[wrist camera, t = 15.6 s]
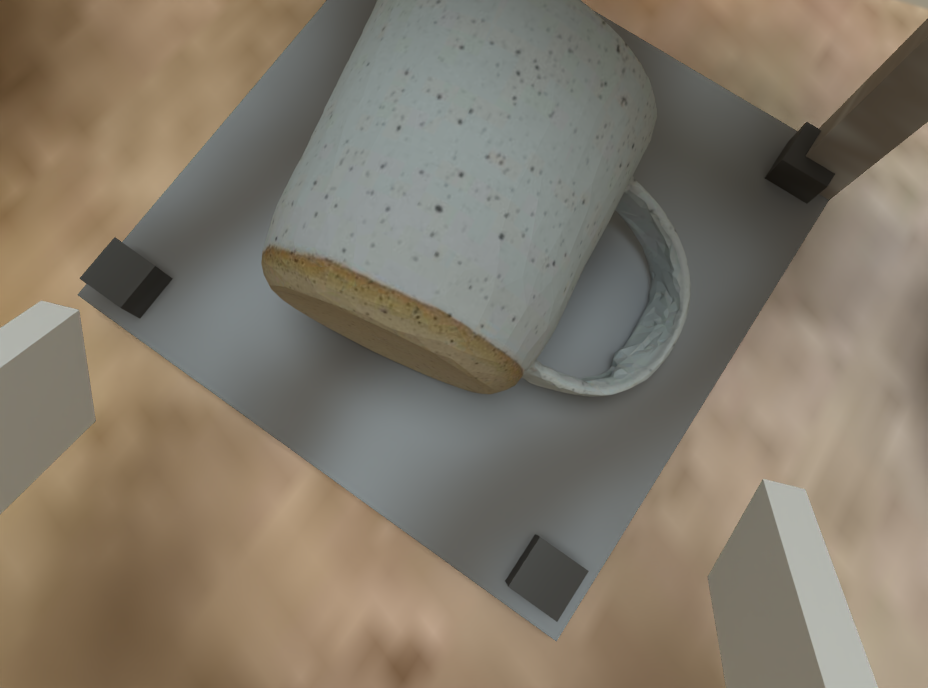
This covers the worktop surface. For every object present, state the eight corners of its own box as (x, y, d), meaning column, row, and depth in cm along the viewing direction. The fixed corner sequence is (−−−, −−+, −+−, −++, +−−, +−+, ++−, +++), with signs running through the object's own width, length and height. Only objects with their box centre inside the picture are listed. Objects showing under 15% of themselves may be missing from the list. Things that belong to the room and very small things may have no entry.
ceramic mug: (279, 323, 20) (180, 225, 13) (397, 94, 22) (371, -113, 14) (614, 470, 20) (719, 461, 12) (709, 224, 21) (855, 78, 14)
